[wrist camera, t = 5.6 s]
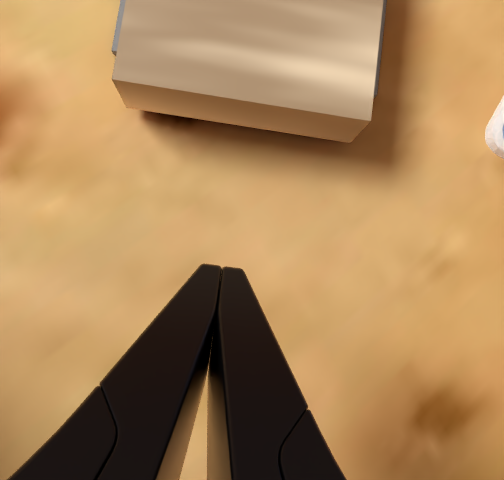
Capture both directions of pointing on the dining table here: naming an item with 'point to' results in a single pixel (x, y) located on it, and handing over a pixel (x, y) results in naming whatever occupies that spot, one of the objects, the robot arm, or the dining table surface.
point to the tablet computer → (496, 131)
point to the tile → (253, 62)
